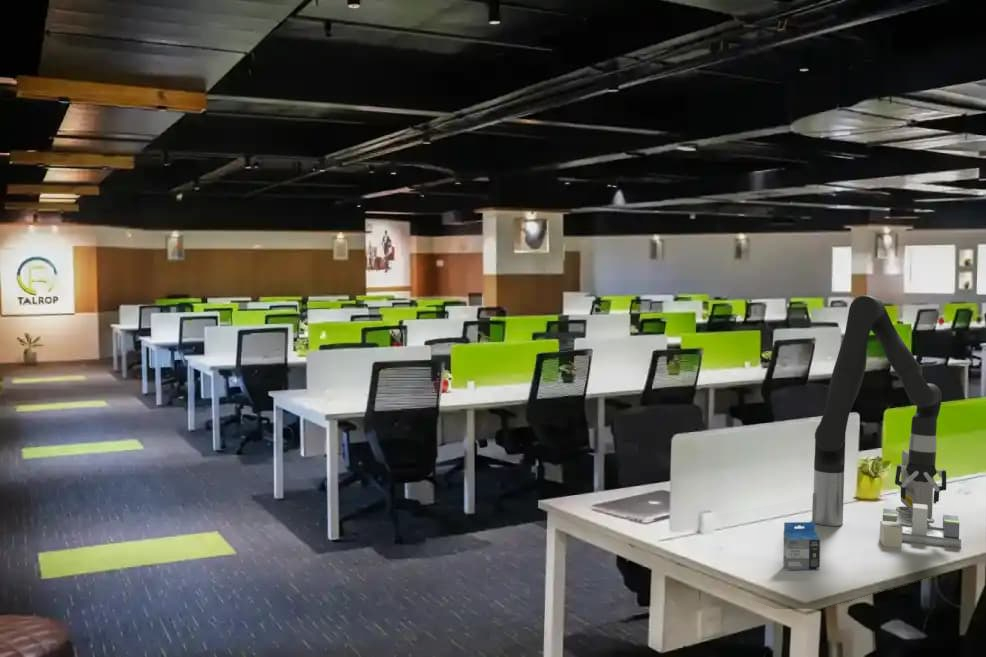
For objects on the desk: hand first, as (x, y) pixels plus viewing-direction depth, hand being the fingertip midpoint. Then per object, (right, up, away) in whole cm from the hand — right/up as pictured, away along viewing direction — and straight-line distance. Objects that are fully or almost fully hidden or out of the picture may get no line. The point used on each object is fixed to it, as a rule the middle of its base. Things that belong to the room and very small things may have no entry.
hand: (919, 501), depth 276 cm
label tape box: (-47, -13, -31) cm, 57 cm away
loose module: (0, -10, +1) cm, 10 cm away
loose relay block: (-11, -12, -6) cm, 17 cm away
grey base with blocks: (0, -11, +1) cm, 11 cm away
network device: (+12, -10, +28) cm, 33 cm away
